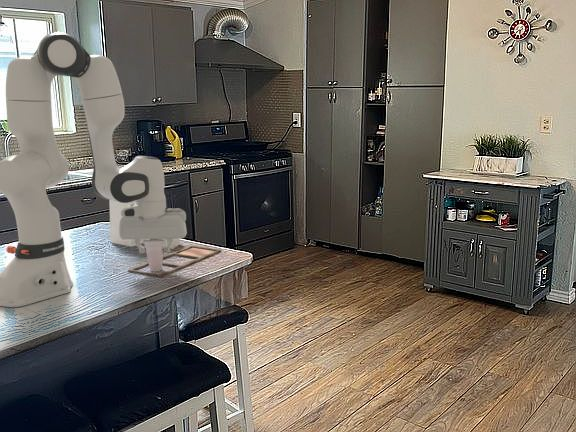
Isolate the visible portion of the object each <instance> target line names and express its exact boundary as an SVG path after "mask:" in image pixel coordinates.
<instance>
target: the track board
mask: <svg viewBox="0 0 576 432" xmlns="http://www.w3.org/2000/svg"><path fill="white" fill-rule="evenodd" d="M221 252H222V249H217V248H211V247H204V246H203V247H202V246H197V245H190V246H187V247H184V248H182V249H179V250H176V251H173V252H171V253H167V254H166V255H163V260H165V259H167V258H170V257H173V256H175V257H180V258H187V259H193V260H191V261H189V262H186V263H184V264H181V265H180V264H175V263H167V262H164V261H163V263H162V266H167V267H172V268H171V269H169V270H166V271H164V272H162V273H159V274H158V273H153V272H147V271H143V270H140V269H142V268H145V267H147V265H148V266H149V263H148V261H147V262H144V263H142V264H140V265H138V266H135V267H131V268H130V269H129V268H128V270H127V272H128V273H133V274H139V275H143V276H144V275H145V276H149V277H155V278H159V279H160V278H163V277H165V276H167V274H168V275H169V274H172V273H174V271H175V272H176V271H180V270H181V268H182V269H184V268H187V267H188V265H189V266H191V265H194V264H196V263H198V262H200V261H203V260H205V259H208V258H209V257H212V256H215V255H216V254H217V255H218V254H219V253H221Z"/></svg>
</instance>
